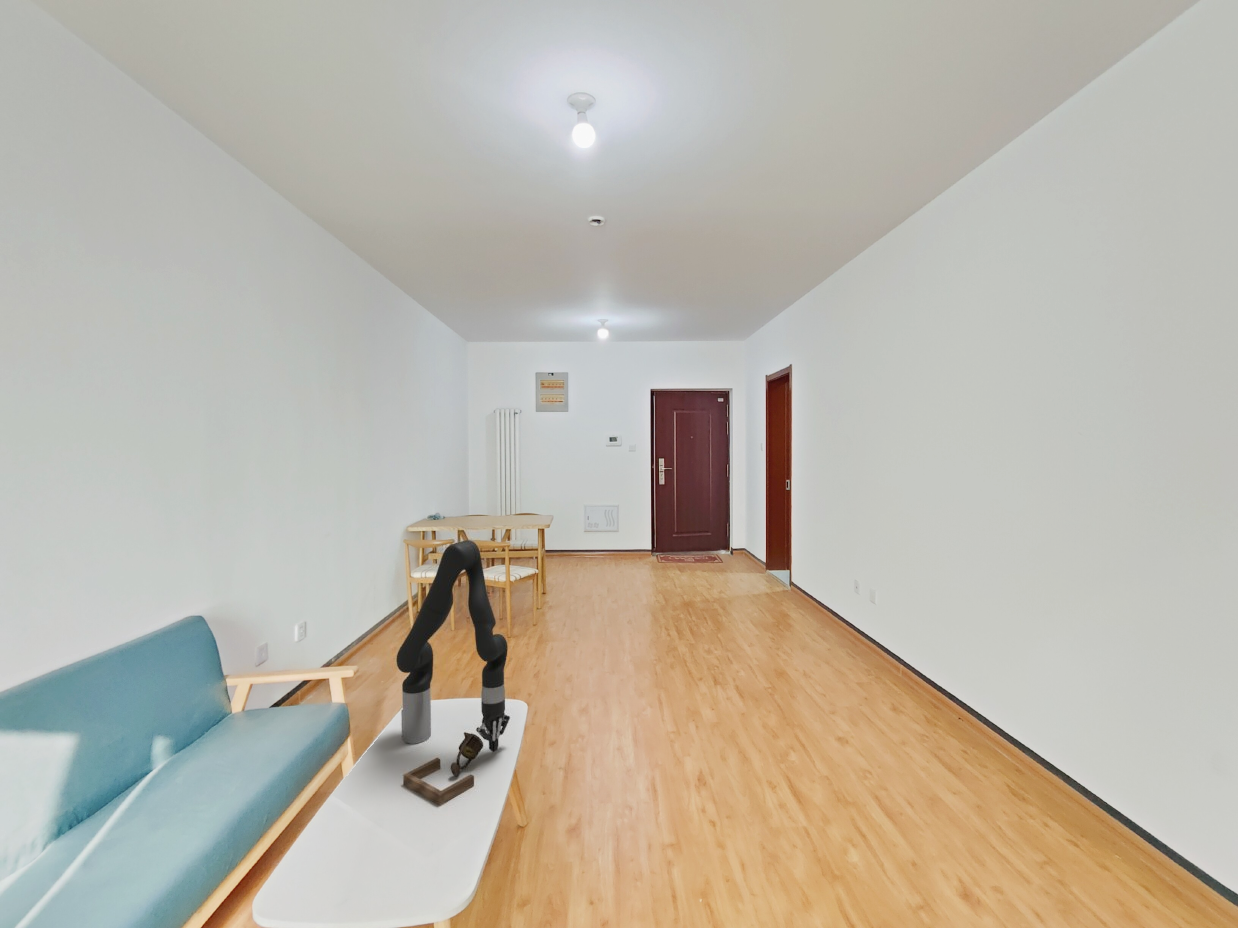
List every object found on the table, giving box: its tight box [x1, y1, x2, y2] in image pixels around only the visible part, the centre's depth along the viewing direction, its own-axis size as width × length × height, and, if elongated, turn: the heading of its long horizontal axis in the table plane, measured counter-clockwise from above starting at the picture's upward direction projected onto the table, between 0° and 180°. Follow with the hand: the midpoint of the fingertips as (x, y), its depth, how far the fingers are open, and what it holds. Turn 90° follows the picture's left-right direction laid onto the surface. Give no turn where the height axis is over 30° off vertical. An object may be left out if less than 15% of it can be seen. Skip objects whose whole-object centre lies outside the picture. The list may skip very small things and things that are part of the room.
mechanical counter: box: [450, 731, 484, 777], centre depth 182 cm, size 7×13×10 cm, turn 174°
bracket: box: [402, 757, 475, 806], centre depth 173 cm, size 18×12×3 cm
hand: (493, 749), depth 191 cm, fingers closed
